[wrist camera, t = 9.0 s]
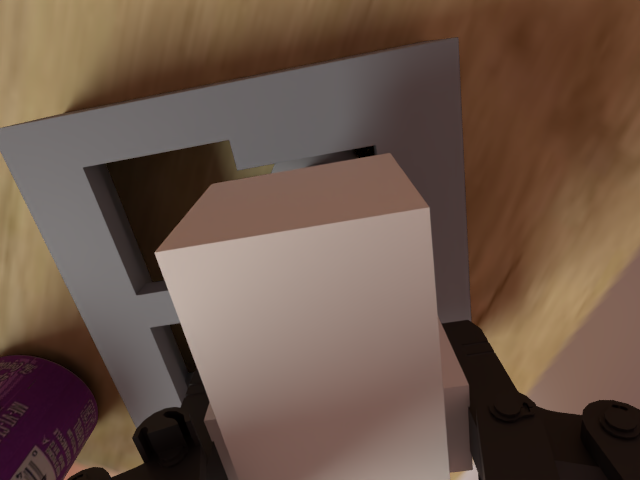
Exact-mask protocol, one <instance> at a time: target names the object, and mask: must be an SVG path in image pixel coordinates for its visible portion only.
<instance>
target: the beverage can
mask: <svg viewBox="0 0 640 480" xmlns="http://www.w3.org/2000/svg"><path fill="white" fill-rule="evenodd" d="M97 420H98V407H97V403H96V400H95V398H94V396H93V394H92V392H91V391H90V389H89V388H88V387H87V385H86V384H85V383H84V382H83V381H82V380H81V379H80V378H79V377H78V376H76V375H75V374H74V373H72V372H71V371H70V370H68V369H66V368H65V367H63V366H61V365H59V364H57V363H54V362H52V361H49V360H46V359H43V358H39V357H34V356H27V355H10V356H4V357H0V480H63V479H64V478H65V476H66V474H67V473H68V471H69V469H70V468H71V466H72V464H73V463H74V461H75V460H76V458H77V456H78V455H79V453H80V451H81V450H82V448H83V446H84V445H85V443H86V441H87V440H88V438H89V436H90V435H91V433H92V431H93V430H94V428H95V426H96V423H97Z"/></svg>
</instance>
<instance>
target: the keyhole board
mask: <svg viewBox="0 0 640 480" xmlns="http://www.w3.org/2000/svg"><path fill="white" fill-rule="evenodd" d="M226 140H229V141H230V145H231V148H232V152H233V156H234V160H235V163H236V167H237V170H242V169H248V168H253V167H259V166H264V165H269V164H275V163H280V162H286V161H291V160H297V159H302V158H308V157H313V156H318V155H324V154H329V153H335V152H340V151H346V150H351V149H357V148H362V147H368V146H374V153H375V155H380V154H386V153H391V155H392V156H393V158H394V159H395V160H396V162H397V163H398V165H399V166H400V167H401V169H402V170H403V171H404V173H405V174H406V176H407V177H408V178H409V180H410V181H411V182H412V184H413V185H414V187H415V188H416V189H417V191H418V192H419V194H420V195H421V196H422V198H423V199H424V200H425V202H426V203H427V205H428V206H429V208H430V221H431V235H432V248H433V261H434V274H435V288H436V301H437V314H438V318H439V320H440V322H441V323H448V322H455V321H462V320H469V321H471V304H470V282H469V260H468V238H467V216H466V194H465V172H464V150H463V128H462V106H461V85H460V63H459V41H458V37H456V38H448V39H439V40H431V41H424V42H419V43H414V44H409V45H404V46H399V47H394V48H389V49H384V50H379V51H374V52H369V53H364V54H359V55H354V56H349V57H344V58H339V59H334V60H329V61H324V62H319V63H314V64H309V65H304V66H299V67H294V68H289V69H284V70H279V71H274V72H269V73H264V74H259V75H254V76H248V77H243V78H238V79H233V80H228V81H223V82H218V83H213V84H208V85H203V86H198V87H193V88H188V89H183V90H178V91H173V92H168V93H163V94H158V95H153V96H148V97H143V98H138V99H133V100H128V101H123V102H118V103H113V104H108V105H103V106H98V107H93V108H88V109H83V110H78V111H73V112H68V113H63V114H59V115H54V116H50V117H46V118H41V119H37V120H33V121H29V122H24V123H20V124H16V125H11V126H7V127H3V128H0V152H1V154H2V156H3V158H4V160H5V162H6V164H7V166H8V168H9V170H10V172H11V174H12V176H13V178H14V180H15V182H16V184H17V186H18V188H19V190H20V192H21V194H22V196H23V198H24V200H25V202H26V204H27V206H28V208H29V211H30V213H31V215H32V217H33V219H34V221H35V223H36V225H37V227H38V229H39V231H40V233H41V235H42V237H43V239H44V241H45V243H46V245H47V247H48V249H49V251H50V253H51V255H52V257H53V259H54V261H55V263H56V265H57V267H58V270H59V272H60V274H61V276H62V278H63V280H64V282H65V284H66V286H67V288H68V290H69V292H70V294H71V296H72V298H73V300H74V302H75V304H76V306H77V308H78V310H79V312H80V314H81V316H82V318H83V320H84V322H85V324H86V326H87V329H88V331H89V333H90V335H91V337H92V339H93V341H94V343H95V345H96V347H97V349H98V351H99V353H100V355H101V357H102V359H103V361H104V363H105V365H106V367H107V369H108V371H109V373H110V375H111V377H112V379H113V381H114V383H115V385H116V388H117V390H118V392H119V394H120V396H121V398H122V400H123V402H124V404H125V406H126V408H127V410H128V412H129V414H130V416H131V418H132V420H133V422H134V424H135V426H136V428H138V427H139V425H140V424H141V423H142V422H143V421H144V420H145V419H146V418H148V417H149V416H151V415H152V414H153V413H155V412H158V411H160V410H162V409H165V408H170V407H179V408H180V407H181V405H182V402H183V399H184V398H185V397H186V396H185V394H186V392H187V389H188V387H190V382H191V379H192V377H193V374H194V372H190V373H188V371H187V368H186V366H185V363H184V361H183V358H182V355H181V353H180V350H179V348H178V345H177V343H176V340H175V338H174V335H173V333H172V330H171V328H170V324H176V323H180V320H179V318H178V315H177V312H176V310H175V307H174V304H173V302H172V299H171V296H170V293H169V291H168V288H167V285H166V283H165V280H164V281H157V282H152V279H151V277H150V274H149V272H148V269H147V267H146V264H145V262H144V259H143V257H142V254H141V252H140V249H139V247H138V244H137V241H136V239H135V236H134V234H133V231H132V229H131V226H130V224H129V221H128V219H127V216H126V214H125V211H124V209H123V206H122V203H121V201H120V198H119V196H118V193H117V191H116V188H115V186H114V183H113V181H112V178H111V176H110V173H109V171H108V168H107V165H106V163H109V162H115V161H120V160H125V159H131V158H136V157H141V156H146V155H152V154H157V153H162V152H168V151H173V150H178V149H183V148H189V147H194V146H199V145H205V144H210V143H215V142H220V141H226Z"/></svg>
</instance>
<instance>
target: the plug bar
mask: <svg viewBox="0 0 640 480" xmlns="http://www.w3.org/2000/svg"><path fill="white" fill-rule="evenodd" d="M154 253H155V256H156V259H157V261H158V264H159V267H160V269H161V272H162V275H163V277H164V280H165V283H166V285H167V288H168V291H169V293H170V296H171V299H172V302H173V304H174V307H175V310H176V312H177V315H178V318H179V320H180V323H181V326H182V328H183V331H184V334H185V337H186V339H187V342H188V345H189V347H190V350H191V353H192V355H193V358H194V361H195V363H196V366H197V369H198V372H199V374H200V377H201V380H202V382H203V385H204V388H205V390H206V393H207V396H208V398H209V401H210V404H211V407H212V409H213V412H214V415H215V417H216V420H217V423H218V425H219V428H220V431H221V433H222V436H223V439H224V442H225V444H226V447H227V450H228V452H229V455H230V458H231V460H232V463H233V466H234V468H235V471H236V474H237V477H238V479H239V480H450V473H449V460H448V446H447V433H446V420H445V407H444V393H443V380H442V367H441V354H440V341H439V327H438V314H437V301H436V288H435V274H434V261H433V248H432V235H431V221H430V208H429V206H428V205H427V203H426V202H425V200H424V199H423V198H422V196H421V195H420V194H419V192H418V191H417V189H416V188H415V187H414V185H413V184H412V182H411V181H410V180H409V178H408V177H407V176H406V174H405V173H404V171H403V170H402V169H401V167H400V166H399V165H398V163H397V162H396V160H395V159H394V158H393V156H392V155H391V153H386V154H380V155H375V156H369V157H363V158H358V156H357V154H356V153H355V151H354V150H353V149H351V150H346V151H340V152H335V153H329V154H324V155H318V156H313V157H308V158H302V159H297V160H291V161H286V162H280V163H275V165H274V167H273V170H272V172H271V174H266V175H260V176H254V177H249V178H243V179H237V180H231V181H226V182H220V183H214V184H211V185H210V186H209V188H208V189H207V190H206V191H205V192H204V194H203V195H202V196H201V197H200V198H199V200H198V201H197V202H196V203H195V204H194V206H193V207H192V208H191V209H190V210H189V212H188V213H187V214H186V215H185V216H184V218H183V219H182V220H181V221H180V222H179V224H178V225H177V226H176V227H175V228H174V230H173V231H172V232H171V233H170V234H169V236H168V237H167V238H166V239H165V240H164V242H163V243H162V244H161V245H160V246H159V248H158V249H157V250H156V251H155V252H154Z"/></svg>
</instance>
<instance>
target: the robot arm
mask: <svg viewBox="0 0 640 480" xmlns="http://www.w3.org/2000/svg"><path fill="white" fill-rule="evenodd" d="M438 327H439V341H440V354H441V367H442V380H443V393H444V407H445V420H446V433H447V446H448V460H449V473H450V472H459V471H467V470H473V467H472V457H473V460H474V463H475V465H476V468H477V471H478V477H479V480H640V410H639V409H637V408H635V407H633V406H631V405H629V404H626V403H622V402H618V401H614V400H599V401H596V402H593V403H590V404H588V405H587V406H586V407H585V409H584V410H583V415H576V414H568V413H560V412H554V411H549V410H545V409H543V408H540V407H538V406H536V404H535V403H534V402H533V401H532V400H530V399H529V398H528V397H527V396H526V395H523V394H521V393H519V392H518V391H517V389H516V388H515V386H514V384H513V382H512V381H511V379H510V377H509V376H508V374H507V372H506V371H505V369H504V367H503V365H502V364H501V362H500V360H499V359H498V357H497V355H496V354H495V353H494V350H493V348H492V347H491V345H490V343H488V340H487V338H486V337H485V335H484V333H483V332H482V330H481V329H480V328H479V327H478V326H476V325H475V324H473V323H472V322H471V321H469V320H462V321H455V322H448V323H441V322H440V320H439V318H438ZM185 396H186V397H185V398H184V399H183V402H182V405H181V407H180V408H179V407H170V408H165V409H162V410H160V411H158V412H155V413H153V414H152V415H151V416H149V417H148V418H146V419H145V420H144V421H143V422H142V423H141V424H140V425H139V427H138V428H137V429H136V431H135V433H134V435H133V437H132V439H133V441H134V443H135V445H136V447H137V449H138V451H139V453H140V455H141V457H142V459H143V461H144V464H142V465H140V466H138V467H136V468H133V469H131V470H128V471H126V472H124V473H121V474H119V475H116V476H114V477H112V478H111V477H110V475H109V473H108V472H107V471H106V470H105V469H103V468H98V467H92V468H89V469H85V470H82V471H80V472H78V473H76V474H75V475H73V476H71V477H70V478H69V479H68V480H239V479H238V477H237V474H236V471H235V468H234V466H233V463H232V460H231V458H230V455H229V452H228V450H227V447H226V444H225V442H224V439H223V436H222V433H221V431H220V428H219V425H218V423H217V420H216V417H215V415H214V412H213V409H212V407H211V404H210V401H209V398H208V396H207V393H206V390H205V388H204V385H203V382H202V380H201V377H200V374H199V372H198V369H196V370H195V371H194V374H193V377H192V379H191V382H190V387H188V389H187V392H186V394H185Z"/></svg>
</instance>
